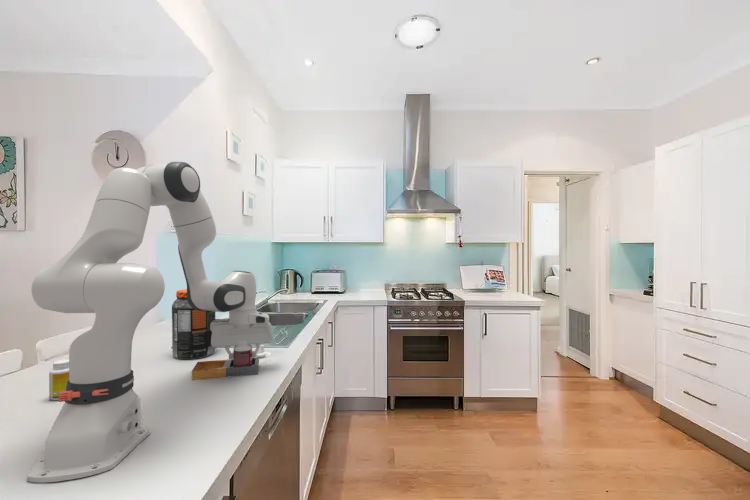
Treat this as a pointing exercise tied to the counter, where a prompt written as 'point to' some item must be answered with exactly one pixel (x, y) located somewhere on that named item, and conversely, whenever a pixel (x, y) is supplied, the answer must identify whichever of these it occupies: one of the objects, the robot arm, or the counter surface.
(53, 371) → the supplement bottle
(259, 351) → the white looped piece
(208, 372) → the rail
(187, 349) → the supplement tub
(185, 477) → the counter surface
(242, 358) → the pill bottle
